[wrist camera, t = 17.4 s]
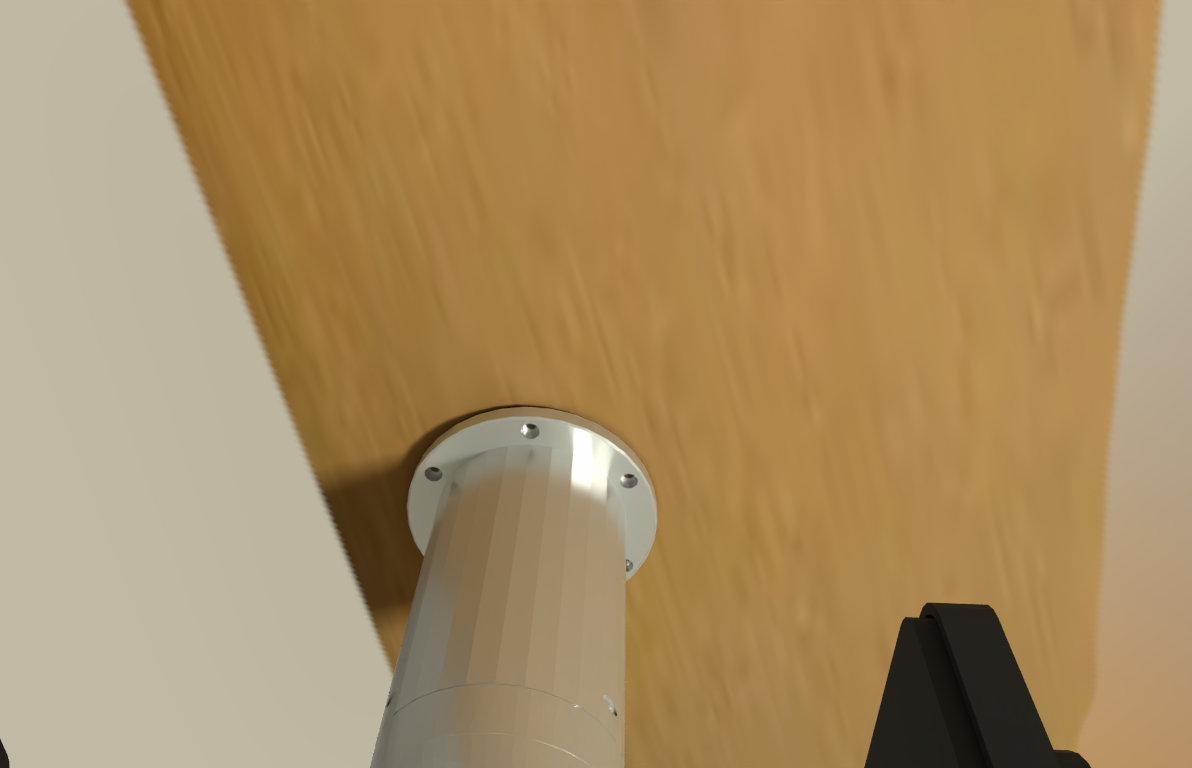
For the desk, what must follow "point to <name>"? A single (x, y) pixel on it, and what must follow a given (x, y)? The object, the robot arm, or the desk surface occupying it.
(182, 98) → the desk surface
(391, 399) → the desk surface
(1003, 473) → the desk surface
